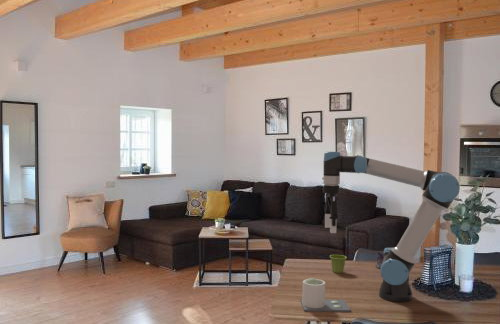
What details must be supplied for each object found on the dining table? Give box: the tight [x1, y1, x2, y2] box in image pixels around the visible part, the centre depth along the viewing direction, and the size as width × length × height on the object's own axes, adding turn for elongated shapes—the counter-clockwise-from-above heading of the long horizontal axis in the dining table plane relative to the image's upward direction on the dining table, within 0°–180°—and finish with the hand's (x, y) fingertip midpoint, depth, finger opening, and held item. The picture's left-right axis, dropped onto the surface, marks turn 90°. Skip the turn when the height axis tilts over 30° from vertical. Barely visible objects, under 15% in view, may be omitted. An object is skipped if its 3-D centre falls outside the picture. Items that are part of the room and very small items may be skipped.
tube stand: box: [300, 278, 351, 313], centre depth 206 cm, size 20×13×11 cm, turn 91°
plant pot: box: [329, 254, 348, 274], centre depth 262 cm, size 9×9×9 cm
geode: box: [375, 252, 384, 270], centre depth 276 cm, size 20×12×10 cm, turn 128°
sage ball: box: [305, 277, 318, 285], centre depth 206 cm, size 6×6×6 cm
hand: (330, 230), depth 217 cm, fingers open, 13 cm apart
